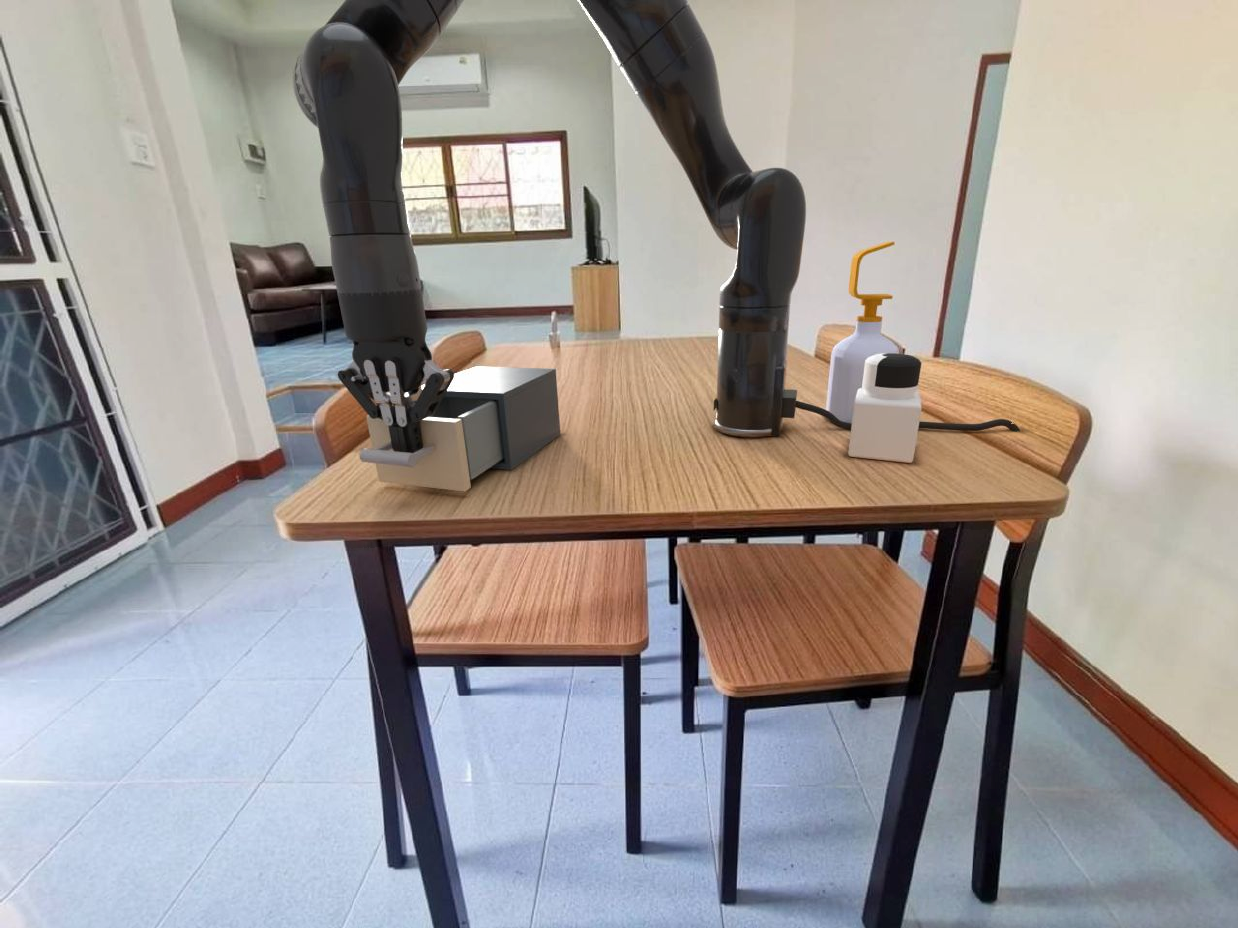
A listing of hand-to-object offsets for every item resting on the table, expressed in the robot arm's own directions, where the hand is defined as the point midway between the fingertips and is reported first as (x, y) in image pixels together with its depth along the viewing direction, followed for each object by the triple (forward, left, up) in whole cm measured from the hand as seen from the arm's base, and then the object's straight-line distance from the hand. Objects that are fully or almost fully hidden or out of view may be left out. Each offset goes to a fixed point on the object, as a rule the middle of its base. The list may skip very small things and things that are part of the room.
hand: (409, 457), depth 60 cm
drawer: (0, -6, -4) cm, 7 cm away
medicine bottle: (-49, -27, -5) cm, 56 cm away
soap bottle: (-47, -41, -5) cm, 63 cm away
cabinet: (0, -17, -5) cm, 18 cm away
